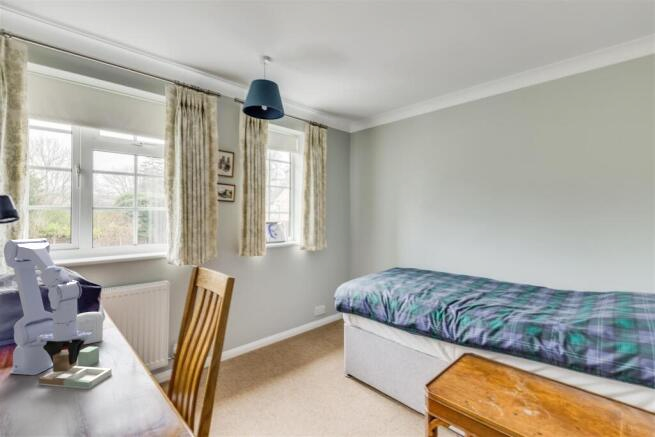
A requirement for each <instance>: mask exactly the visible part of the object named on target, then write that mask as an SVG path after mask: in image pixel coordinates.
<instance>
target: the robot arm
mask: <svg viewBox="0 0 655 437" xmlns="http://www.w3.org/2000/svg"><path fill="white" fill-rule="evenodd" d="M3 248H4V249H3V255H4V260H5V263H6V266H7V267H9V268H11V269H13V272H14V276H15V280H16V285H17V289H18V295H19V298H20V303H21V307H22V312H23V316H22V317H21V318H20V319H19V320H18V321H16V323H14V325H13V330H14V332H13V338H14V340H13V341H14V343H15V344H16V345H17V346H16V347H15V349H14V350H13V353H12V370H11V371H9V374H12V375H13V374H14V375H16V374H17V375H25V376H26V375H28V376H37V375H39V374H41V373H42V372H44V371H46V370H49V369H51V368H53V356H54V355H55V354H57V353H59V352H60V351H62V350H63V349H62V348H63V346H62V345H63V341H72V342H70V343H68V344H67V345H65V346H66V348H67V349H66V350H68V352H69V363H70V365H72V364H74V363H75V362H77V363H78V354H79V352H80V350H82V347H83V346H84V345H85V344H84V342H85V341H89V340H90V339H92V332H79V331H77V315H78V299H80V297H81V296H82V292H83V289H82V285H81V284H80V282H79V281H77V280H74V279H72V278H70V277H69V276H68V274H67V273H66V272H65V270H64V269H63V267H61V266H57V265H55V263H54V261H53V259H52V257H51V256H50V248H51V247H50V242H49V241H48V240H47V238H44V237H41V238H33V239H31V238H29V239H8V240H7V241H6V242H5V244H4V247H3ZM36 268H38V270H39V271H40V272H41V273H40V275H39V278H40V279H41V281H42V282H43V284H44V285H45V286H46V288H47V289H48V292H47V295H48V296H47V297H48V300H49V302H50V309H52V312H50V311H46V310H45V306H44V302H43V297H42V293H41V290H40V286H39V280H38V277H37V273H36ZM83 344H84V345H83Z"/></svg>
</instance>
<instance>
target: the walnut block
mask: <svg viewBox="0 0 655 437" xmlns="http://www.w3.org/2000/svg"><path fill="white" fill-rule="evenodd" d="M74 366H78V361H77V362H75V363H74V364H72V365H70V363H69V352H68V349H62V350H61V351H60V352H59V353H57V354H55V355H54V356H53V367H52V372H61V371H68V370H70V369H71V368H73V367H74Z"/></svg>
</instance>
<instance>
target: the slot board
mask: <svg viewBox="0 0 655 437" xmlns="http://www.w3.org/2000/svg"><path fill="white" fill-rule="evenodd" d="M112 372H113V370H112V368H106V367H94V366H93V367H92V366H89V367H86V366H78V365H75V366H74V367H73V368H71V369H70V370H68V371H61V372H53V371H51V372H49V373H46V374H45V375H43V376H40V377H38V385H39V386H50V387H51V386H52V387H61V388H62V387H63V388H74V389H85V390H87V389H88V390H89V389H91V388H92V387H94V386H96V385H97V384H98V383H101V382H102V381H104V380H105V379H107V378H108V377H110V376H112Z"/></svg>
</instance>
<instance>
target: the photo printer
mask: <svg viewBox="0 0 655 437" xmlns="http://www.w3.org/2000/svg"><path fill="white" fill-rule="evenodd" d="M103 322H104V317H103V314H102V312H101V311H88V312H82V313H77V331H79V332H92V339H90V340H89V341H85V342H84V344H83V345H82V346H85V345H89V344H94V343H98V342H102V341H103V336H104V335H103V332H104V328H103V327H104V323H103ZM70 342H72V341H70Z"/></svg>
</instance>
